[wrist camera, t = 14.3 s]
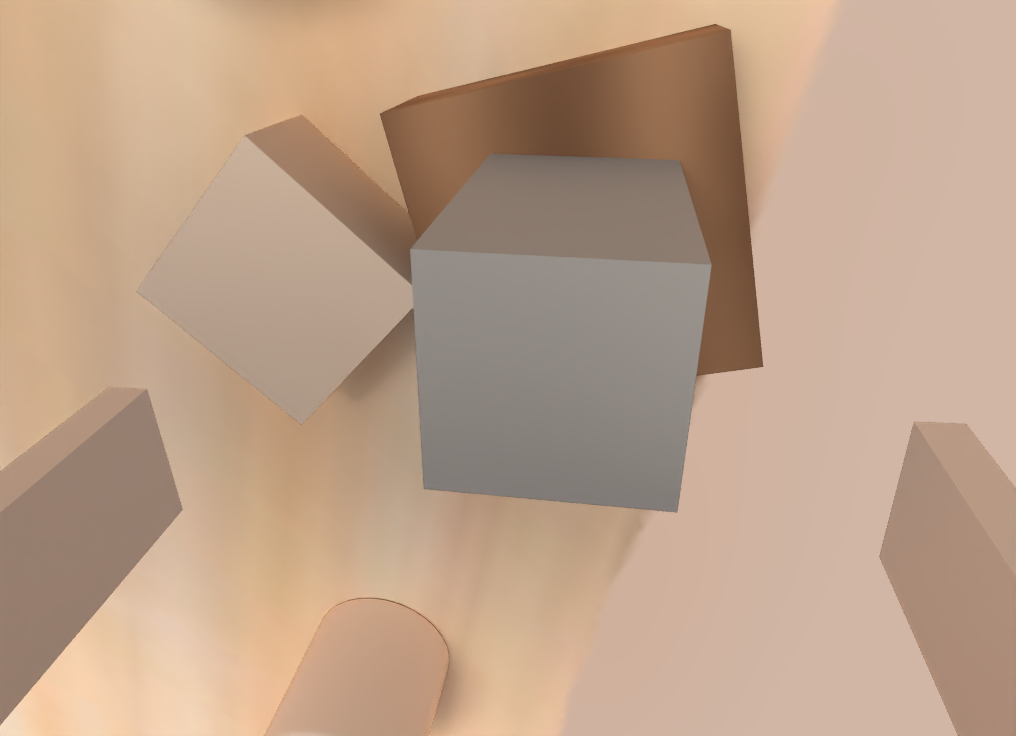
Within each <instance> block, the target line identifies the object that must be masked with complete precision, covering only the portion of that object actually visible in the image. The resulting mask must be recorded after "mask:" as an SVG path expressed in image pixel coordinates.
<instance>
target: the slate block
mask: <svg viewBox="0 0 1016 736" xmlns="http://www.w3.org/2000/svg"><path fill="white" fill-rule="evenodd" d="M410 256H411V274H412V291H413V309H414V326H415V343H416V361H417V378H418V395H419V413H420V430H421V447H422V465H423V482H424V489H430V490H441V491H451V492H462V493H473V494H484V495H495V496H505V497H516V498H527V499H538V500H548V501H559V502H570V503H581V504H592V505H602V506H613V507H624V508H635V509H646V510H656V511H667V512H677V511H678V504H679V497H680V490H681V482H682V475H683V468H684V461H685V453H686V446H687V439H688V432H689V425H690V417H691V410H692V403H693V396H694V389H695V381H696V374H697V367H698V360H699V352H700V345H701V338H702V331H703V324H704V316H705V309H706V302H707V295H708V287H709V280H710V273H711V266H712V264H711V261H710V258H709V254H708V251H707V248H706V245H705V242H704V238H703V235H702V232H701V229H700V225H699V222H698V219H697V216H696V212H695V209H694V206H693V203H692V200H691V196H690V193H689V190H688V187H687V183H686V180H685V177H684V174H683V170H682V167H681V164H680V161H679V160H661V159H632V158H602V157H573V156H544V155H514V154H490V155H489V156H488V157H487V158H486V160H485V161H484V162H483V163H482V164H481V165H480V167H479V168H478V169H477V170H476V171H475V173H474V174H473V175H472V176H471V177H470V179H469V180H468V181H467V182H466V183H465V185H464V186H463V187H462V188H461V189H460V190H459V192H458V193H457V194H456V195H455V196H454V198H453V199H452V200H451V201H450V202H449V204H448V205H447V206H446V207H445V208H444V209H443V211H442V212H441V213H440V214H439V215H438V217H437V218H436V219H435V220H434V221H433V223H432V224H431V225H430V226H429V227H428V228H427V230H426V231H425V232H424V233H423V234H422V236H421V237H420V238H419V239H418V240H417V242H416V243H415V244H414V245H413V246H412V248H411V249H410Z"/></svg>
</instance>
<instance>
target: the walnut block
mask: <svg viewBox="0 0 1016 736" xmlns="http://www.w3.org/2000/svg"><path fill="white" fill-rule="evenodd" d="M380 116H381V120H382V123H383V126H384V130H385V133H386V137H387V140H388V144H389V147H390V150H391V154H392V157H393V161H394V164H395V167H396V171H397V174H398V178H399V181H400V185H401V188H402V191H403V195H404V198H405V202H406V205H407V208H408V212H409V215H410V219H411V222H412V226H413V229H414V232H415V236H416V239H417V240H418V239H419V238H420V237H421V236H422V234H423V233H424V232H425V231H426V230H427V228H428V227H429V226H430V225H431V224H432V223H433V221H434V220H435V219H436V218H437V217H438V215H439V214H440V213H441V212H442V211H443V209H444V208H445V207H446V206H447V205H448V204H449V202H450V201H451V200H452V199H453V198H454V196H455V195H456V194H457V193H458V192H459V190H460V189H461V188H462V187H463V186H464V185H465V183H466V182H467V181H468V180H469V179H470V177H471V176H472V175H473V174H474V173H475V171H476V170H477V169H478V168H479V167H480V165H481V164H482V163H483V162H484V161H485V160H486V158H487V157H488V156H489V155H490V154H514V155H544V156H573V157H602V158H632V159H661V160H679V161H680V164H681V167H682V170H683V174H684V177H685V180H686V183H687V187H688V190H689V193H690V196H691V200H692V203H693V206H694V209H695V212H696V216H697V219H698V222H699V225H700V229H701V232H702V235H703V238H704V242H705V245H706V248H707V251H708V254H709V258H710V261H711V264H712V266H711V273H710V280H709V287H708V295H707V302H706V309H705V316H704V324H703V331H702V338H701V345H700V352H699V360H698V367H697V374H696V376H698V375H705V374H713V373H720V372H727V371H735V370H743V369H751V368H758V367H763V361H762V351H761V340H760V332H759V331H760V330H759V320H758V309H757V299H756V289H755V278H754V268H753V257H752V247H751V237H750V226H749V216H748V206H747V195H746V185H745V175H744V164H743V154H742V144H741V133H740V123H739V113H738V102H737V92H736V82H735V71H734V61H733V51H732V40H731V30H729V29H727V28H724V27H722V26H719V25H717V24H714V25H709V26H705V27H701V28H697V29H693V30H689V31H685V32H681V33H676V34H672V35H668V36H664V37H660V38H656V39H652V40H648V41H643V42H639V43H635V44H631V45H627V46H623V47H619V48H614V49H610V50H606V51H602V52H598V53H594V54H590V55H586V56H581V57H577V58H573V59H569V60H565V61H561V62H557V63H553V64H548V65H544V66H540V67H536V68H532V69H528V70H524V71H520V72H515V73H511V74H507V75H503V76H499V77H495V78H491V79H486V80H482V81H478V82H474V83H470V84H466V85H462V86H458V87H453V88H449V89H445V90H441V91H437V92H433V93H429V94H425V95H420V96H417V97H415V98H412V99H410V100H408V101H406V102H404V103H402V104H400V105H398V106H396V107H393V108H391V109H389V110H387V111H385V112H383V113H381V114H380Z"/></svg>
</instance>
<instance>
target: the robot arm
mask: <svg viewBox="0 0 1016 736" xmlns="http://www.w3.org/2000/svg"><path fill="white" fill-rule="evenodd" d="M182 510H183V509H182V506H181V502H180V499H179V496H178V492H177V489H176V485H175V482H174V479H173V475H172V472H171V469H170V465H169V462H168V459H167V455H166V452H165V448H164V445H163V442H162V438H161V435H160V432H159V428H158V425H157V422H156V418H155V415H154V411H153V408H152V405H151V401H150V398H149V395H148V391H147V389H137V388H114V387H108V388H107V389H106V390H104V391H103V392H102V393H101V394H99V395H98V396H97V397H95V398H94V399H93V400H92V401H90V402H89V403H88V404H86V405H85V406H84V407H83V408H81V409H80V410H79V411H77V412H76V413H75V414H74V415H72V416H71V417H70V418H68V419H67V420H66V421H65V422H63V423H62V424H61V425H59V426H58V427H57V428H56V429H54V430H53V431H52V432H50V433H49V434H48V435H47V436H45V437H44V438H43V439H41V440H40V441H39V442H38V443H36V444H35V445H34V446H32V447H31V448H30V449H29V450H27V451H26V452H25V453H23V454H22V455H21V456H20V457H18V458H17V459H16V460H14V461H13V462H12V463H11V464H9V465H8V466H7V467H5V468H4V469H3V470H2V471H0V725H1V724H2V723H3V721H4V720H5V719H6V718H7V717H8V715H9V714H10V713H11V712H12V711H13V710H14V708H15V707H16V706H17V705H18V704H19V702H20V701H21V700H22V699H23V698H24V697H25V695H26V694H27V693H28V692H29V691H30V689H31V688H32V687H33V686H34V685H35V684H36V682H37V681H38V680H39V679H40V678H41V676H42V675H43V674H44V673H45V672H46V671H47V669H48V668H49V667H50V666H51V665H52V663H53V662H54V661H55V660H56V659H57V658H58V656H59V655H60V654H61V653H62V652H63V650H64V649H65V648H66V647H67V646H68V645H69V643H70V642H71V641H72V640H73V639H74V637H75V636H76V635H77V634H78V633H79V632H80V630H81V629H82V628H83V627H84V626H85V624H86V623H87V622H88V621H89V620H90V619H91V617H92V616H93V615H94V614H95V613H96V611H97V610H98V609H99V608H100V607H101V606H102V604H103V603H104V602H105V601H106V600H107V598H108V597H109V596H110V595H111V594H112V593H113V591H114V590H115V589H116V588H117V587H118V585H119V584H120V583H121V582H122V581H123V579H124V578H125V577H126V576H127V575H128V574H129V572H130V571H131V570H132V569H133V568H134V566H135V565H136V564H137V563H138V562H139V561H140V559H141V558H142V557H143V556H144V555H145V553H146V552H147V551H148V550H149V549H150V548H151V546H152V545H153V544H154V543H155V542H156V540H157V539H158V538H159V537H160V536H161V535H162V533H163V532H164V531H165V530H166V529H167V527H168V526H169V525H170V524H171V523H172V522H173V520H174V519H175V518H176V517H177V516H178V514H179V513H180V512H181V511H182ZM880 559H881V562H882V564H883V566H884V568H885V571H886V573H887V575H888V578H889V580H890V582H891V584H892V586H893V589H894V591H895V593H896V596H897V598H898V600H899V603H900V605H901V607H902V609H903V612H904V614H905V616H906V618H907V621H908V623H909V625H910V628H911V630H912V632H913V634H914V637H915V639H916V641H917V643H918V646H919V648H920V650H921V652H922V655H923V657H924V659H925V662H926V664H927V666H928V668H929V671H930V673H931V675H932V677H933V680H934V682H935V684H936V687H937V689H938V691H939V693H940V696H941V698H942V700H943V703H944V705H945V707H946V709H947V712H948V714H949V716H950V718H951V721H952V723H953V725H954V727H955V730H956V732H957V734H958V736H1016V488H1015V486H1014V485H1013V484H1012V482H1011V481H1010V480H1009V479H1008V477H1007V476H1006V475H1005V473H1004V472H1003V471H1002V470H1001V468H1000V467H999V466H998V464H997V463H996V462H995V460H994V459H993V458H992V457H991V455H990V454H989V453H988V451H987V450H986V449H985V447H984V446H983V445H982V444H981V442H980V441H979V440H978V438H977V437H976V436H975V434H974V433H973V432H972V431H971V429H970V428H969V427H968V425H967V424H956V423H955V424H954V423H933V422H932V423H931V422H914V424H913V427H912V431H911V435H910V439H909V443H908V447H907V451H906V455H905V458H904V463H903V466H902V471H901V474H900V478H899V482H898V486H897V490H896V494H895V497H894V501H893V505H892V509H891V513H890V517H889V521H888V525H887V529H886V532H885V536H884V540H883V544H882V548H881V552H880Z"/></svg>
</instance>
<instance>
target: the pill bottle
mask: <svg viewBox="0 0 1016 736" xmlns="http://www.w3.org/2000/svg"><path fill="white" fill-rule="evenodd" d="M448 666H449V654H448V650H447V646H446V644H445V642H444V640H443V638H442V636H441V635H440V633H439V632H438V631H437V630H436V628H435V627H434V626H433V625H432V624H431V623H430V622H428V621H427V620H426V619H425V618H424V617H422V616H421V615H419V614H418V613H416V612H415V611H413V610H411V609H409V608H407V607H405V606H402V605H400V604H397V603H394V602H390V601H387V600H380V599H355V600H350V601H346V602H344V603H341V604H339V605H337V606H335V607H334V608H332V609H331V610H330V611H329V612H328V613H327V614H326V615H325V616H324V617H323V619H322V621H321V623H320V625H319V627H318V629H317V631H316V633H315V635H314V637H313V639H312V641H311V643H310V645H309V647H308V649H307V651H306V653H305V655H304V657H303V658H302V660H301V662H300V664H299V666H298V668H297V670H296V672H295V674H294V676H293V678H292V680H291V682H290V684H289V686H288V688H287V690H286V692H285V694H284V696H283V698H282V700H281V702H280V704H279V706H278V708H277V710H276V712H275V714H274V716H273V718H272V720H271V722H270V724H269V726H268V728H267V730H266V732H265V734H264V736H429V734H430V730H431V727H432V723H433V720H434V716H435V712H436V709H437V705H438V702H439V698H440V695H441V691H442V688H443V684H444V680H445V677H446V673H447V670H448Z"/></svg>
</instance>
